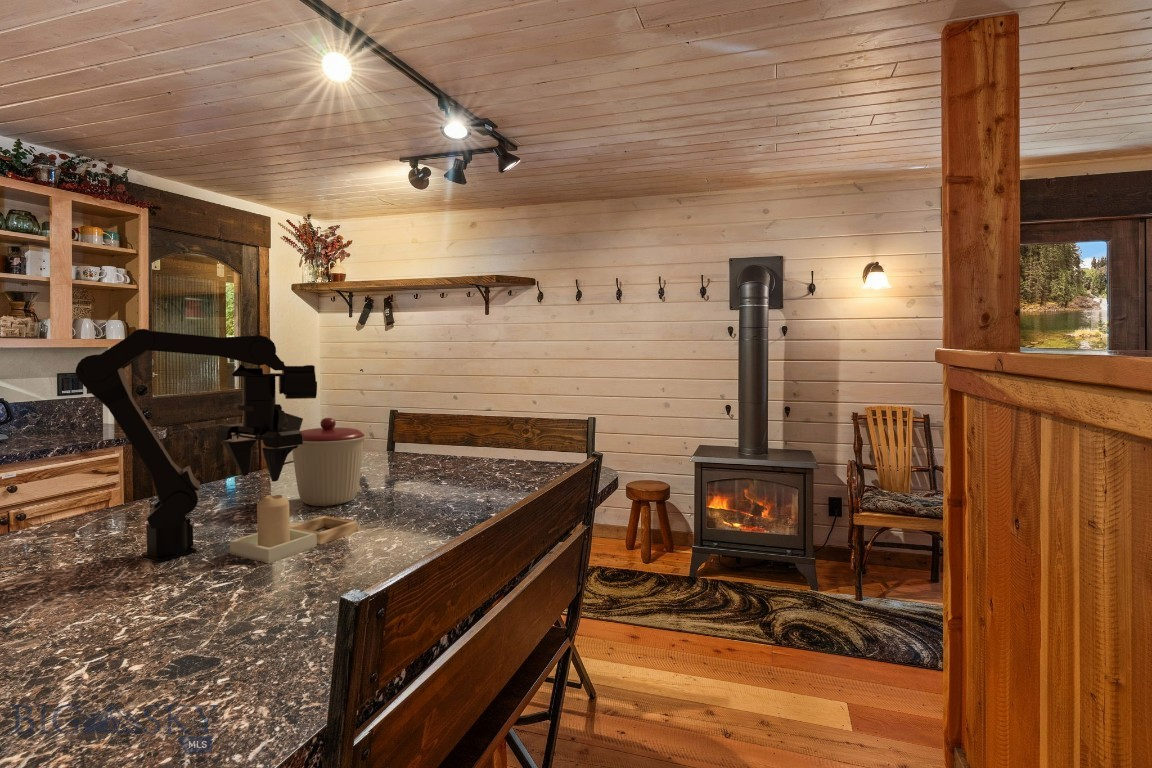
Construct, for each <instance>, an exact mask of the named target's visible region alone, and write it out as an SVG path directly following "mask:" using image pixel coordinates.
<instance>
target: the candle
mask: <svg viewBox="0 0 1152 768" xmlns="http://www.w3.org/2000/svg"><path fill="white" fill-rule="evenodd" d="M256 514H257V515H256V518H257V519H256V521H257V522H256V523H257V524H256V525H257V526H256V527H257V529H256V530H257V531H256V533H258V545H259V546H264V547H268V548H270V547H273V546H276V545H280V544H283V543H286V542H289V541H290V526H291V525H290V522H291V521H290V520H291V519H290V501H289V500H288V499H286V497H284V496H283V495H282V494H275V495H272V494H269V495H266V497H264V498H263V499H262V500H260V501H259V502H258V503H257V505H256Z"/></svg>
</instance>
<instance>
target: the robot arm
mask: <svg viewBox="0 0 1152 768" xmlns="http://www.w3.org/2000/svg"><path fill="white" fill-rule="evenodd" d="M150 351H151V352H152V351H153V352H165V353H176V354H177V353H178V354H189V355H202V356H211V357H212V356H213V357H214V356H215V357H221V358H226V359H231V360H234V361H237V362H238V361H239V362H242V363H247V364H251V365H256V366H267V367H268V368H270V369H272V370H274V371H281V372H277V373H276V372H264V370H263V367H245V365H243V364H242V363H240V364H238V365H239V366H238V367H237V368H236V369H235V370H234V371H232V372H231V375H232V377H236V378H237V377H242V404H237V411H242V422H241V423H231V424H223V425H220V426H219V428H218V429H217V430H216V432H217V433H216V435H217V440H219V441H221V445H223V446H224V447H225V449H226V450H227V452H228V453H229V454H230V456H231V459H232V460H233V461H234V463H235V465H236V467H237V469H238V471H239V473H240V474H241V476H242V477H247V476H248V475H249V473H250V470H251V469H250V468H251V457H252V456H251V455H252V448H253V446H254V445H255V444H256V443H257V441H260V440H261V441H262V444H263V445H264V447H262V453H263V456H264V459H265V463H266V467H267V470H268V475H269V477H270V480H271V482H278V481H279V479H280V476H281V473H282V470H283V468H284V465H285V462H286V459H287V458H288V455H289V454H290V453H291V452H292V450H293V449H296V448H298V446H299V445H301V444H303V434H302V433H301V432H300V431H301V428H302V427H301V426H302V424H303V422H304V418H303V417H299V416H297V415H293V414H290V413H287V412H285V411H284V410H283V409H282V408H283V407H282V405H281V404H279V403H276V402H277V401H276V400H277V399H276V397H277V396H276V393H277V392H276V390H277V389H276V377H278V394H279V395H282V394H283V395H284V398H285V400H294V399H295V400H296V399H297V400H299V399H305V400H306V399H307V400H308V399H316V398H317V395H318V394H317V393H318V381H317V378H316V369H315V368H316V366H315V365H314V364H305V365H286V364H285V362H284V361H283V360H281V359H280V357H279V356H278V355H277V354H276V353H277V348H276V345H275V342H273V340H272V339H271V338H269V336H265V335H260V334H259V335H243V336H242V335H241V336H225V337H218V336H209V335H201V334H200V335H198V334H187V333H186V334H185V333H176V332H165V331H157V330H156V331H155V330H151V329H149V328H139V329H135V330H134V331H132V332H131V334H130V335H128V336H127V337H125V338H124V339H122V340H121V341H119V342H118V343H116V344H114V345H112V346H111V347H109V348H108V349H106V350H105V351H103V352H102V353H99V354H92V355H91V354H90V355H88V356H85V357H83V358H81V359H80V361H78V363H77V364H76V368H75V375H76V379H77V380H78V381H79V382H80V383H81V384H82V386H83V387H85V389H87V391H88V392H89V393H90V394H91V395H92V396H93V397H94V398H96V399H97V400H98V401H99V402H101V403H102V404H103V405H104V406H105V407H106V408H107V409H108V411H109V412H110V413H111V415H112V416H113V418H114V420H115V422H116V423H117V424H118V426H119V428H120V429H121V431H122V432H123V434H124V435H125V436H126V439H127V440H128V441H129V443H130V445H131V446H132V447H133V449H134V450H135V452H136V453H137V455H138V457H139V459H140V460H141V462H142V463H143V464H144V466H145V468H146V469H147V471H148V472H149V474H150V476H151V479H152V483H153V486H154V490H155V493H156V496H157V498H158V501H157V502H156V503H155V504H154V505H153V506H152V507H151V510H150V511H149V513H148V516H147V518H146V520H147V522H148V523H146V524H145V528H146V529H145V531H146V533H145V534H146V551H144V552H142V553H141V557H146V558H148V559H153V560H156V561H159V562H164V561H168V560H172V559H174V558H178V557H181V556H185V555H188V554H192V553H194V552H197V551H198V550H197V548H196V547H193V546H194V525H193V524H192V523H191V522H192V521H191V517H186V516H187V515H188V514H190V513H191V512H193V511H194V510H195V509H196V508H197V504H198V502H199V497H200V485H201V481H199V480H198V479H196V477H195V476H194V474H193V471H192V468H191V466H190V465H187V466H186V467H184V468H183V469H182V468H181V467H180V466H179V465H177V464H176V463H175V461H173V459H172V458H171V456H170V454H169V453H168V451H167V450H166V448H165V446H164V445H163V443H162V442H161V440H160V439H159V437H158V436H157V433H156V432H155V431H154V429H153V428H152V426H151V424H150V423H149V421H148V420H147V418H146V417H145V415H144V413H143V412H142V410H141V409H140V407H139V406H138V404H137V402H136V401H135V399H134V397H133V395H132V392H131V388H130V385H129V381H128V377H127V376H126V373H125V370H124V369H125V368H127V367H128V366H130V365H131V364H133V363H134V362H135V361H137V360H138V359H139V358H140V357H142V356H144V354H146V353H147V352H150Z"/></svg>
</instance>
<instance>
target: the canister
mask: <svg viewBox="0 0 1152 768" xmlns="http://www.w3.org/2000/svg"><path fill="white" fill-rule="evenodd" d="M319 424H320V427H315V428H310V429H304V430H303V429H302V430H300V432H301V433H302V434H303V444H301V445H299V446H298V448H296V449H293V450H292V451H291V452H292V458H293V465H294V466H293V467H294V474H295V480H296V487H297V492H298V496H299V498H300V500H301V501H302V502H303V503H305V505H309V506H314V507H315V506H317V507H326V506H327V507H328V506H337V505H341V504H342V505H343V504H345V503H350V501H352V500H354V499H355V497H356V496H357V494H358V491H359V486H360V478H361V469H362V463H363V462H362V461H363V454H364V453H363V452H364V440H365V439H366V438H367V434H366V433H364V432H362V431H361V430H359V429H357V428H350V427H336V424H337V423H336V420H335V419H334V418H332V417H324V418H322V419H321V421H320V423H319Z"/></svg>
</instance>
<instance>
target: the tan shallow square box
mask: <svg viewBox="0 0 1152 768" xmlns="http://www.w3.org/2000/svg"><path fill="white" fill-rule="evenodd" d="M322 528H327V529H325V530H323V531H317V530H319V529H322ZM328 528H329V529H328ZM290 529H295V530H300V531H305V532H310V533H315V534H317V545H323V544H326V543H329V542H331V541H334V540H337V539H340V538H343V537H345V536H348V535H351V534H354V533H357V532H359V521H355V520H349V519H343V518H339V517H332V516H328V515H322V516H319V517H316V518H315V517H314V518H311V519H310V520H305V521H303V522H299V523H295V524H293V525H290Z"/></svg>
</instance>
